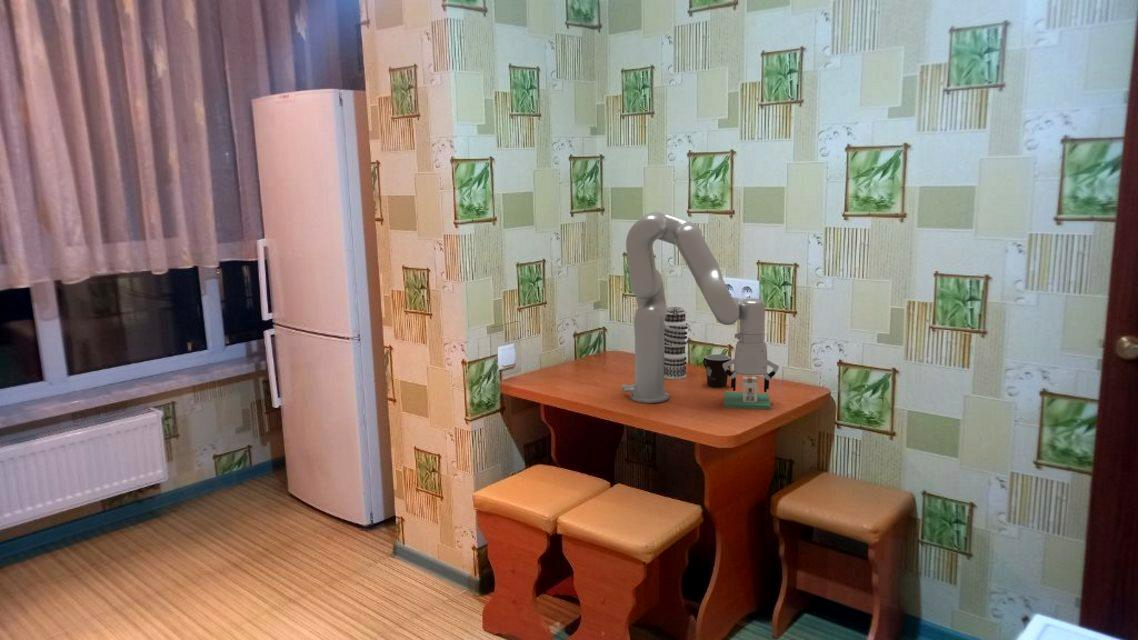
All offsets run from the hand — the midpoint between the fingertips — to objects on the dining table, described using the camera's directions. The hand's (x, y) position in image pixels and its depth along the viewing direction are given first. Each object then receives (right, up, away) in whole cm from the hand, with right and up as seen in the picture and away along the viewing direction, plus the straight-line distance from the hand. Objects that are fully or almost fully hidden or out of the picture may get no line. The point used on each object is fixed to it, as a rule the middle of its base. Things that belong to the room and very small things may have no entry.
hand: (749, 390), depth 250 cm
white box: (0, -3, 0) cm, 3 cm away
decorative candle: (-19, +2, +34) cm, 39 cm away
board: (-1, -4, +1) cm, 4 cm away
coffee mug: (-7, 0, +22) cm, 23 cm away
